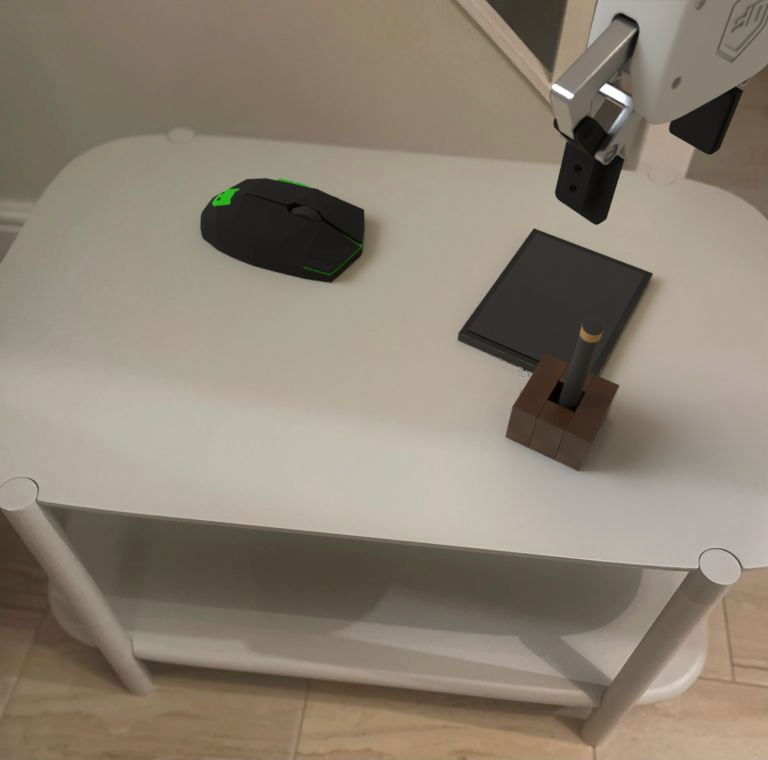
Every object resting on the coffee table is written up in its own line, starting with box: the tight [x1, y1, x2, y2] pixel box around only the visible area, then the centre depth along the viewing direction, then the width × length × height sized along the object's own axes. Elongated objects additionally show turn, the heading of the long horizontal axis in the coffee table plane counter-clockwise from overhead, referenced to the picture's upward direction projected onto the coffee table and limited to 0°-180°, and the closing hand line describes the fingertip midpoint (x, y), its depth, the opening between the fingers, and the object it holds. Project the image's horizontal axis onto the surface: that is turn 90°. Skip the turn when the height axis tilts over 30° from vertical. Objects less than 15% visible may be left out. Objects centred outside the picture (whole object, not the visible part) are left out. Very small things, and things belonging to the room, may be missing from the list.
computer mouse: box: [199, 177, 365, 283], centre depth 76 cm, size 11×16×4 cm
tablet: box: [457, 228, 654, 377], centre depth 71 cm, size 12×16×1 cm
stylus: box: [558, 319, 603, 412], centre depth 58 cm, size 1×1×12 cm
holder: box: [505, 353, 620, 472], centre depth 62 cm, size 6×6×4 cm
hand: (638, 174), depth 44 cm, fingers open, 9 cm apart
